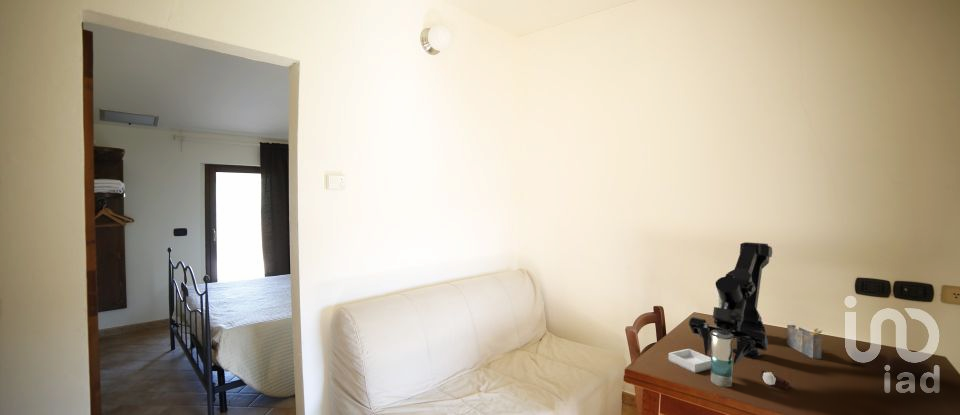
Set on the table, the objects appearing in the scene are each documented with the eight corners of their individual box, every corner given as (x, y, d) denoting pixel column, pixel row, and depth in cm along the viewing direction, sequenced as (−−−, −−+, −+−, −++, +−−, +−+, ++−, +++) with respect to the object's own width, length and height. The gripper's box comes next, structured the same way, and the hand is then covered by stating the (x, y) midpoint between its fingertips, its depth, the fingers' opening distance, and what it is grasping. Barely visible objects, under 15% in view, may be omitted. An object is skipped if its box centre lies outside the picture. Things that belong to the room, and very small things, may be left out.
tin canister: (718, 376, 108) (719, 328, 108) (736, 384, 104) (737, 334, 103) (706, 379, 106) (707, 330, 106) (724, 388, 102) (725, 337, 101)
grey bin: (688, 356, 123) (688, 348, 123) (715, 367, 114) (715, 359, 114) (668, 360, 119) (668, 352, 119) (694, 372, 111) (694, 364, 111)
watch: (755, 378, 108) (755, 366, 108) (770, 377, 108) (770, 365, 108) (779, 391, 100) (779, 378, 100) (794, 391, 101) (795, 377, 101)
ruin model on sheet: (822, 360, 121) (823, 330, 121) (812, 359, 122) (813, 330, 121) (795, 346, 133) (796, 319, 132) (786, 346, 133) (787, 319, 133)
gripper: (691, 290, 114) (677, 334, 107) (766, 303, 100) (756, 354, 93) (699, 310, 120) (686, 354, 112) (771, 325, 106) (762, 375, 99)
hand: (720, 359), depth 104 cm, fingers open, 7 cm apart
